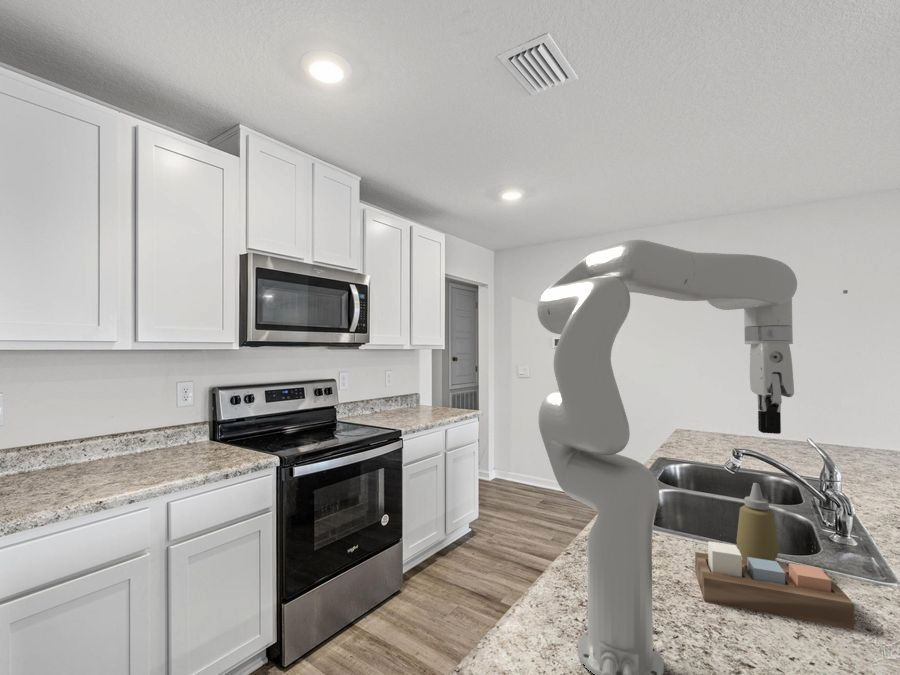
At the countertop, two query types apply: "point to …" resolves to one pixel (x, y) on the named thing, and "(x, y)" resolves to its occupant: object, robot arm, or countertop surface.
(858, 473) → the countertop surface
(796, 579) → the peach cube
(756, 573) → the key slate
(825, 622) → the wooden compartment tray
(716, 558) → the key cream
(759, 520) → the squeeze bottle
